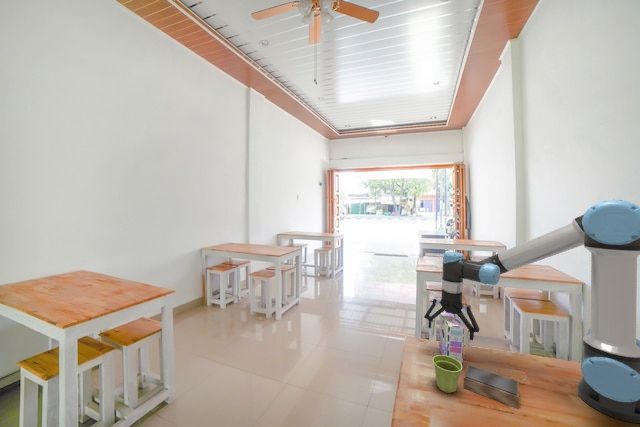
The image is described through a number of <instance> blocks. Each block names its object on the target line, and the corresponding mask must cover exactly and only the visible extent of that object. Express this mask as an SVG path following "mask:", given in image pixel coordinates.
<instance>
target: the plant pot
mask: <svg viewBox="0 0 640 427" xmlns="http://www.w3.org/2000/svg"><path fill="white" fill-rule="evenodd" d="M431 361H432V363H433V367H434V372H435V380H436V386H437V387H438V388H439V390H440V391H442V392H445V393H447V394H450V393H455V392H456V391H457V389H458V388H457V387H458V381H459V377H460V374H461V371H463V369H462V368H463V367H464V366H463V367H462V364H461V363H460V362H459V361H458V360H456V359H454V358H452V357H450V356H446V355H442V354H437V355H434V356H433V357H432V360H431Z"/></svg>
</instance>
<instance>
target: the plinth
mask: <svg viewBox="0 0 640 427" xmlns="http://www.w3.org/2000/svg"><path fill="white" fill-rule="evenodd" d="M466 367H467V368H466V370H465V374H464V377H463V389H466V390H468V391H471V392H473V393H475V394H479V395H480V396H484V397H487V398H488V399H489V398H490V399H492V400H495V401H497V402H499V403H503V404H504V405H508V406H510V407H513V408H516V409H519V395H520V394H519V392H520V391H519V390H520V388H519V385H520V383H519V381H518V380H516V379H512V378H510V377H506V376H502V375H500V374H497V373H494V372H491V371H488V370H485V369H483V368H482V369H481V368H478V367H476V366H473V365H467V366H466Z"/></svg>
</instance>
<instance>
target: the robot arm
mask: <svg viewBox="0 0 640 427" xmlns="http://www.w3.org/2000/svg"><path fill="white" fill-rule="evenodd" d="M581 246H583V247H584V248H585V249H586V250H588V251H589V252H590V254H591V255H590V256H591V257H590V258H591V259H590V262H591V263H590V328H589V329H588V331H587V334H586V335H584V336H583V338H582V339H583V340H582V362H581V363H580V371H581V375H582V377H581V379H580V381H579V382H578V385H577V394H578V397H579V398H580V399H581V400H582V401H583V402H585V403H586V404H587V405H588V406H590V407H591V408H593V409H595V410H597V412H601V413H603V414H604V415H606V416H610V417H611V418H614V419H617V420H620V421H623V422H628V423H633V424H640V340H639V339H638V338H637V300H638V299H637V293H638V292H637V289H638V286H637V285H638V284H637V283H638V281H637V280H638V257H639V256H640V206H639V205H637V204H636V203H632V202H631V201H626V200H622V199H611V200H610V199H608V200H603V201H600V202H597V203H595V204H593V205H591V206H590V207H589V208H588V209H587V210H586V211H585V212H584V213H583V214H582V215H580V216H578V217H575V218H573V219H572V222H571V223H568V224H567V225H564V226H562V227H559V228H557V229H554V230H552V231H550V232H549V231H548V232H547V233H544V234H543V235H540V236H538V237H535V238H532V239H531V240H528V241H525V242H523V243H521V244H518V245H516V246H513V247H511V248H509V249H506V250H503V251H502V252H499V253H497V254H495V255H491V256H488V257H486V258H484V259H481V260H479V261H475V260H468V259H466V258H465V256H464V253H461V252H457V251H447V252H444V253H443V258H442V276H441V277H442V280H441V297H440V298H441V299H438V297H434V298H433V299H432V302H431V303H432V304H431V305H430V307H429V308H428V310H427V311H426V313H425V315H424V317H423V318H424V319H426V320H427V321H428V328H429V329H430V338H433V337H434V336H435V322H436V321H435V319H436V318H437V317H438V316H440V313H444V312H445V313H451V314H454V315H455V316H456V315H457V317H458V318H459V319H460V320H461V321H462V323H463V324H464V325H465V326H466V328H467V337H466V338H467V339H466V342H467V343H466V349H470V347H471V341H473V340H474V339H475V333H479V332H480V327H479V324H478V322H477V320H476V318H475V316H474V314H473V312H472V306H471V305H470V304H467V305H465V304H463V290H464V289H463V286H464V285H463V284H464V280H468V281H472V282H476V283H481V284H484V285H490V286H491V285H492V286H496V285H498V283H499V281H500V279H501V278H500V277H501V275H502V274H506V273H508V272H511V271H514V270H517V269H520V268H522V267H525V266H528V265H532V264H534V263H536V262H539V261H541V260H545V259H547V258H551V257H553V256H556V255H559V254H562V253H564V252H567V251H569V250H570V251H571V250H573V249H576V248H579V247H581ZM463 279H464V280H463ZM439 304H440V306H441V308H439V309H438V310H437V311H435V312H434V313H433V314H432V315H431V313H432V312H433V311H434V308H435V307H436V306H437V305H439ZM462 309H464V311H465V312H466V314H467V316H468V318H467V317H466V315H465V314H464V313H463V311H462ZM468 319H469V320H470V321H469V320H468ZM470 322H471V323H470Z"/></svg>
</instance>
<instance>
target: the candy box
mask: <svg viewBox="0 0 640 427" xmlns="http://www.w3.org/2000/svg"><path fill="white" fill-rule="evenodd" d="M464 332H465V327H464V326H463V325H462V323H461V322H460V321H459V319H458V318H457V317H456V314H455V315H454V314H451V313H446V312H442V313H440V314H439V333H438V334H439V342H438V344H439V345H438V350H439V352H440V353H441V354H440V355H446V356H450V357H452V358H454V359H456V360H458V361H459V362H460V363H461V364H462V367H464V366H463V364H464V337H465V333H464ZM462 370H463V368H462Z"/></svg>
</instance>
